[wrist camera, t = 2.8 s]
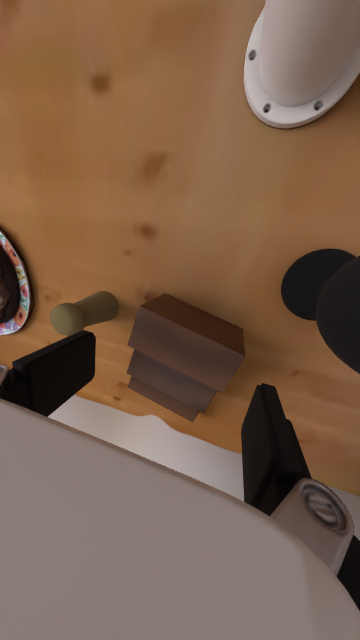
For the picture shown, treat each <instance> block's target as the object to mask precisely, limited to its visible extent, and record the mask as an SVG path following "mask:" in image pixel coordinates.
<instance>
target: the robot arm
mask: <svg viewBox="0 0 360 640" xmlns="http://www.w3.org/2000/svg"><path fill="white" fill-rule="evenodd" d="M359 73H360V0H266V2H265V7H264V9H263V11H262V13H261V14H260V16H259V18H258V20H257V22H256V24H255V26H254V29H253V31H252V34H251V36H250V39H249V43H248V47H247V51H246V56H245V64H244V87H245V94H246V97H247V101H248V104H249V105H250V107H251V109H252V111H253V113H254V114H255V115H256V116H257V117H258V118H259V119H260V120H261V121H263V122H264V123H266V124H267V125H270V126H273V127H276V128H286V129H287V128H294V127H299V126H302V125H305V124H307V123H310V122H311V121H313V120H315V119H317V118H319V117H320V116H322V115H323V114H324V113H326V112H327V111H328V110H330V109H331V108H332V107H333V106H334V105H335V104H336V103H337V102H338V101H339V100H340V99H341V98H342V97H343V96H344V94H345V93H346V92H347V90H348V89H349V88H350V86H351V85H352V84H353V82H354V81H355V79H356V78H357V76H358V74H359ZM315 109H317V110H318V111H316V110H315ZM266 111H268V113H264V112H266ZM95 346H96V337H95V336H94V334H93V333H92V332H88V331H85V330H82V331H80V332H77V333H75V334H73V335H71V336H69V337H66V338H64V339H62V340H60V341H57V342H55V343H53V344H51V345H49V346H46V347H44V348H42V349H40V350H38V351H35V352H33V353H31V354H29V355H26V356H24V357H22V358H20V359H18V360H15V361H13V362H12V364H13V368H12V369H10V370H9V368H8V366H7V365H5V364H0V640H360V541H359V540H358V539H357V538H356V537H355V536H354V535H353V534H354V524H353V520H352V517H351V516H350V513H349V511H348V509H347V508H346V506H345V505H344V504H343V502H342V501H341V500H340V499H339V497H338V496H337V495H336V494H335V493H334V492H333V491H332V490H331V489H329V488H328V487H327V486H325V485H324V484H322V483H321V482H319V481H317V480H314V479H312V478H311V475H310V473H309V470H308V467H307V464H306V462H305V459H304V456H303V453H302V450H301V448H300V445H299V442H298V439H297V437H296V434H295V431H294V428H293V425H292V423H291V421H290V420H288V419H286V418H285V415H284V412H283V409H282V406H281V403H280V400H279V397H278V394H277V391H276V388H275V387H274V386H271V385H268V384H264V383H262V384H261V385H257V387H256V389H255V392H254V395H253V397H252V400H251V403H250V406H249V408H248V411H247V414H246V416H245V419H244V422H243V425H242V429H241V438H242V460H243V482H244V502H243V501H241V500H239V499H237V498H235V497H233V496H231V495H229V494H227V493H225V492H223V491H221V490H218V489H216V488H214V487H212V486H209V485H207V484H205V483H203V482H200V481H198V480H196V479H194V478H191V477H189V476H187V475H184V474H182V473H180V472H177V471H175V470H173V469H170V468H168V467H166V466H163V465H161V464H158V463H156V462H154V461H151V460H149V459H147V458H144V457H142V456H140V455H137V454H135V453H133V452H130V451H128V450H125V449H123V448H121V447H118V446H116V445H113V444H111V443H109V442H106V441H104V440H101V439H99V438H97V437H94V436H92V435H89V434H87V433H85V432H82V431H80V430H77V429H75V428H73V427H70V426H68V425H65V424H63V423H60V422H58V421H56V420H53V419H51V418H48V416H49V415H50V414H51V413H53V412H54V411H55V410H56V409H57V408H59V407H60V406H61V405H62V404H63V403H65V402H66V401H67V400H68V399H69V398H71V397H72V396H73V395H74V394H75V393H77V392H78V391H79V390H80V389H81V388H83V387H84V386H85V385H86V384H87V383H89V382H90V381H91V380H92V379H93V377H94V375H95Z"/></svg>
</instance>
